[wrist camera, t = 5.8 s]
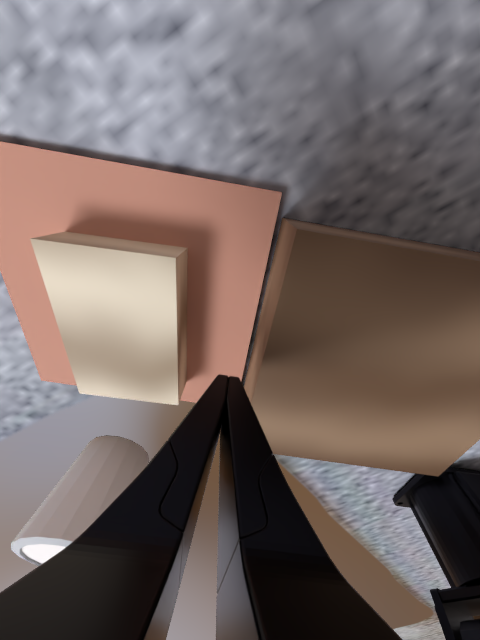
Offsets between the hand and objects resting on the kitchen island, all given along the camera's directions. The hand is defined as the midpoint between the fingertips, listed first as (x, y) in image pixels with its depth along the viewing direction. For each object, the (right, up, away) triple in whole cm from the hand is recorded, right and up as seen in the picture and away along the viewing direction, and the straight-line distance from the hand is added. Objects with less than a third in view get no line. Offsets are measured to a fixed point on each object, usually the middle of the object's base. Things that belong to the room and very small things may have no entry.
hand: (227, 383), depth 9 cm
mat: (-6, +3, +4) cm, 8 cm away
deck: (+8, +1, +5) cm, 9 cm away
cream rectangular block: (-6, +2, +3) cm, 6 cm away
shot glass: (-11, -10, +12) cm, 19 cm away
